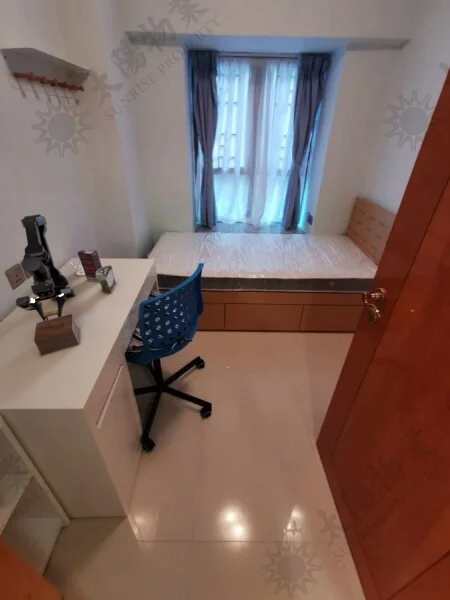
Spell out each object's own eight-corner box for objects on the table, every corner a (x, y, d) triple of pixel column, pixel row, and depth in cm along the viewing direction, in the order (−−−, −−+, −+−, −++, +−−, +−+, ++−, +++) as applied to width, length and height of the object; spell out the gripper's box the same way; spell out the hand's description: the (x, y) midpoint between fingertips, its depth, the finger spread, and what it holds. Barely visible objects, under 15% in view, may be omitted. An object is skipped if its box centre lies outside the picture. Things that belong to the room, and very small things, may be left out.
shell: (95, 272, 154) (90, 257, 149) (71, 277, 151) (65, 261, 145) (95, 266, 161) (90, 251, 156) (73, 270, 158) (67, 255, 152)
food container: (104, 283, 144) (98, 265, 138) (116, 282, 144) (111, 264, 139) (97, 296, 134) (91, 277, 128) (110, 294, 134) (104, 276, 128)
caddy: (43, 338, 109) (37, 325, 106) (78, 328, 113) (72, 316, 110) (41, 355, 101) (34, 342, 98) (78, 344, 105) (73, 331, 102)
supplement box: (106, 277, 149) (97, 250, 140) (100, 282, 145) (90, 254, 136) (93, 276, 151) (83, 248, 143) (86, 280, 147) (76, 252, 139)
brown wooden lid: (37, 324, 106) (32, 314, 104) (72, 314, 110) (68, 305, 108) (34, 341, 98) (28, 331, 95) (73, 331, 102) (68, 321, 99)
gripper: (4, 279, 96) (14, 322, 94) (64, 267, 103) (74, 307, 100) (18, 288, 107) (27, 327, 104) (71, 277, 113) (81, 313, 111)
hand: (52, 318), depth 105 cm, fingers closed on brown wooden lid, 5 cm apart
